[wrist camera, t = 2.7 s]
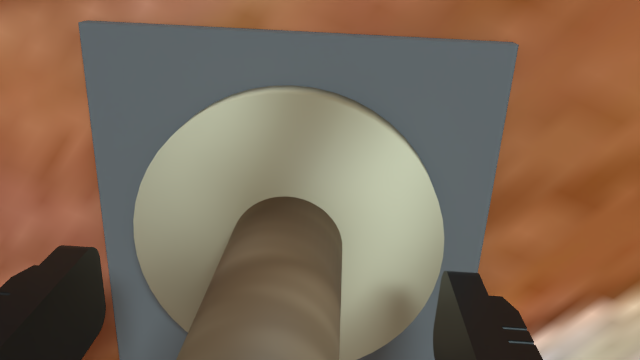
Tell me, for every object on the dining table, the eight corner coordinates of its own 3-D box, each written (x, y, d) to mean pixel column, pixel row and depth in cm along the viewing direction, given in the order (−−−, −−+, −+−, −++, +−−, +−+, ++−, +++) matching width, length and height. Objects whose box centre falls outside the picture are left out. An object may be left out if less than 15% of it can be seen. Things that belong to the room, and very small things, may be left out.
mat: (513, 42, 14) (518, 45, 13) (453, 380, 18) (456, 391, 17) (87, 20, 14) (78, 22, 13) (126, 357, 18) (121, 368, 18)
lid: (457, 93, 14) (554, 209, 7) (421, 356, 17) (466, 604, 10) (133, 77, 14) (-57, 175, 7) (157, 339, 17) (39, 568, 11)
